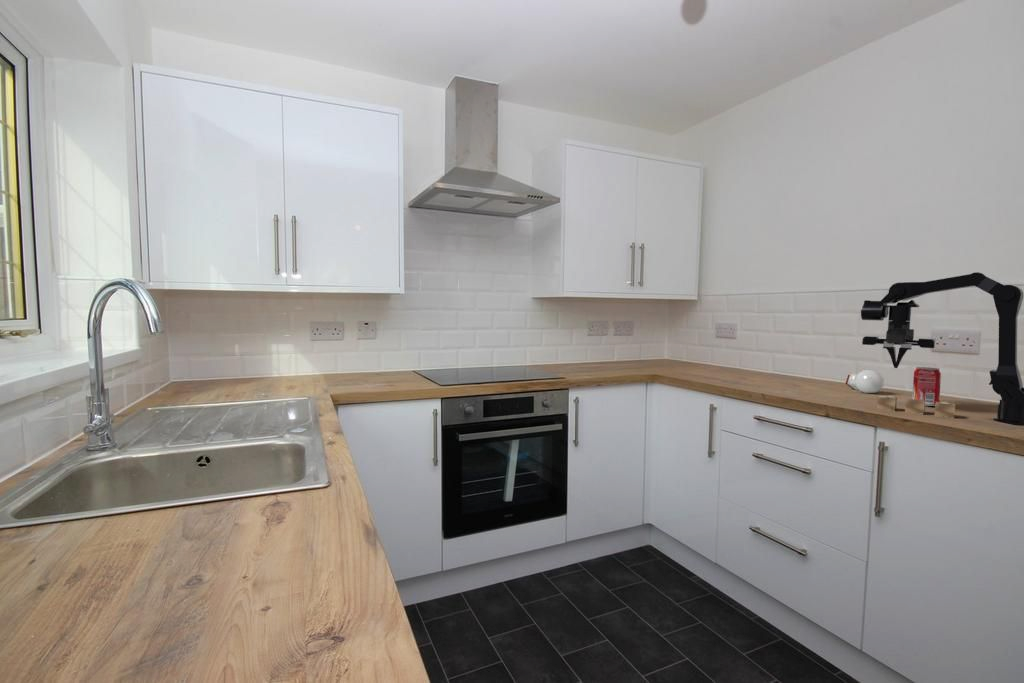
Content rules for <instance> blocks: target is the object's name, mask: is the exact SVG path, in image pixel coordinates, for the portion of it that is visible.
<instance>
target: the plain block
mask: <svg viewBox="0 0 1024 683" xmlns="http://www.w3.org/2000/svg"><path fill="white" fill-rule="evenodd" d="M904 408H905V409H904V412H905V411H908V412H916V413H924V414H925V411H926V410H925V409H926V407H925V400H915V399H912V398H906V400H905V407H904Z"/></svg>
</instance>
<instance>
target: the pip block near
mask: <svg viewBox="0 0 1024 683" xmlns="http://www.w3.org/2000/svg"><path fill="white" fill-rule="evenodd" d="M955 411H956V403H952V402H949V401H939V402H936V403H935V407H934V416H935V415H939V416H947V417H953V418H952V419H955V413H956V412H955Z"/></svg>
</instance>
